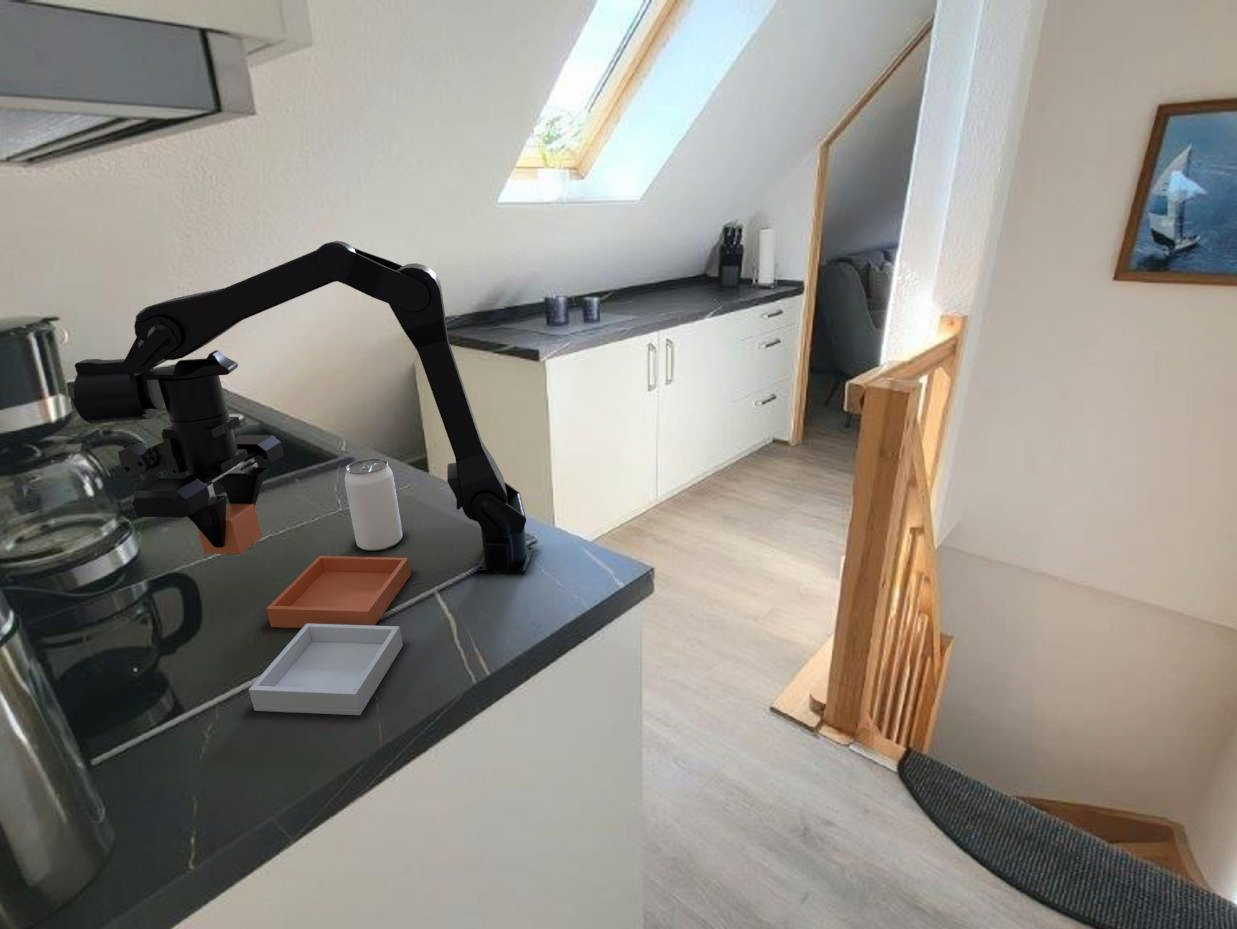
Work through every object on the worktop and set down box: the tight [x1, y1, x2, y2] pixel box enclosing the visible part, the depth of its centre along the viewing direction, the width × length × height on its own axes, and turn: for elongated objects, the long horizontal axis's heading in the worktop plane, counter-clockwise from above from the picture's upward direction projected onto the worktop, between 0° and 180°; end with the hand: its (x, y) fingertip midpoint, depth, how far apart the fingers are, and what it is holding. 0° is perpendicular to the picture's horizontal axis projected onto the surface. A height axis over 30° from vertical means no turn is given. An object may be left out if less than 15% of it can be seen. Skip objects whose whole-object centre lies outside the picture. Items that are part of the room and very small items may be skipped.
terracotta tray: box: [266, 555, 412, 629], centre depth 81 cm, size 12×12×3 cm
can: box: [344, 457, 403, 552], centre depth 93 cm, size 6×6×12 cm
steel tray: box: [248, 624, 404, 716], centre depth 67 cm, size 11×11×3 cm
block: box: [196, 503, 263, 555], centre depth 79 cm, size 4×4×4 cm
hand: (232, 537), depth 79 cm, fingers closed on block, 4 cm apart
